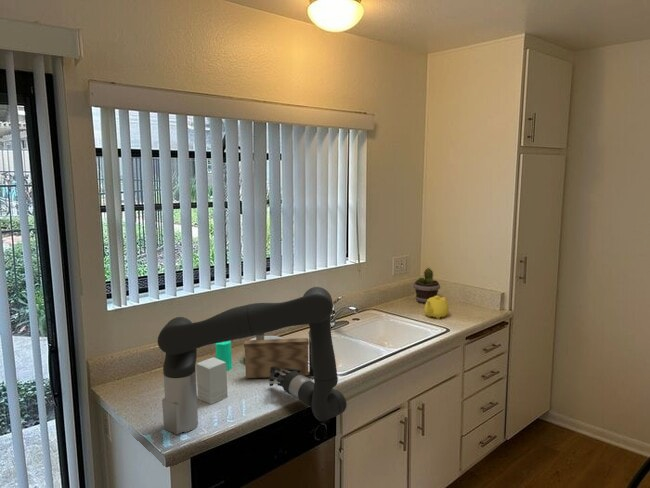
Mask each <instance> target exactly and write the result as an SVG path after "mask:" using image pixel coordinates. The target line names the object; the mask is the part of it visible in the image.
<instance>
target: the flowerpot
mask: <svg viewBox="0 0 650 488" xmlns="http://www.w3.org/2000/svg"><path fill="white" fill-rule="evenodd" d="M422 273H423V275H422V276H423V277H422V276H420V277H418V279H416V280H415V281H414V282H413V284H412V285H413V288H414V290H415V294H416V295H415V299H416V301H417V302H418V303H419V304H425V305H426V302H427V300H428V299H429V298H431V297H434V296H438V292H439V290H440V288H441V284H440V283H439V281H438V280H434V276H435V275H434V271H433V269H431V266H430V267H429V265H428V267H427V268H425V269H424V271H422Z"/></svg>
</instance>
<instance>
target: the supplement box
mask: <svg viewBox="0 0 650 488" xmlns="http://www.w3.org/2000/svg"><path fill="white" fill-rule="evenodd" d="M195 369H196V387H197V399H199V400H201V401H203V402H205V403H206V404H208V405H213V404H215V403H217V402H219V401H222V400H224V399H227V398H228V396H229V395H228V379H227V378H228V377H227V376H228V375H227V371H226V362H224V361H222V360H219V359H217V358H216V357H210V358H207V359H205V360H202V361H199V362H196V365H195Z"/></svg>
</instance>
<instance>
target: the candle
mask: <svg viewBox="0 0 650 488" xmlns="http://www.w3.org/2000/svg"><path fill="white" fill-rule="evenodd" d="M214 347H215V358H217V359H219V360H222V361H224V362H226V372H227V371H229V370H231V369H232V368H233V362H232V360H233V357H232V340H231V341H226V342H221V343H215V346H214Z"/></svg>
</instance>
